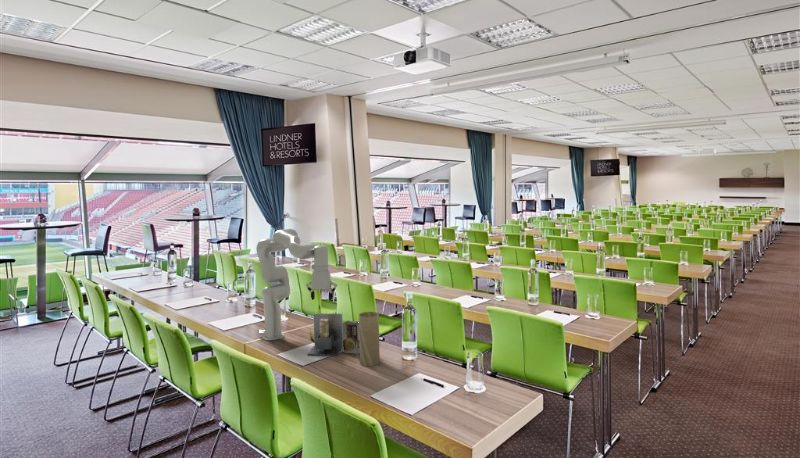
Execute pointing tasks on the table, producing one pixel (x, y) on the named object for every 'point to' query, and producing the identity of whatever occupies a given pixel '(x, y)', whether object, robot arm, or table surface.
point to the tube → (369, 338)
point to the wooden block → (324, 328)
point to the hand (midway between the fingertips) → (321, 299)
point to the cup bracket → (335, 339)
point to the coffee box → (351, 337)
